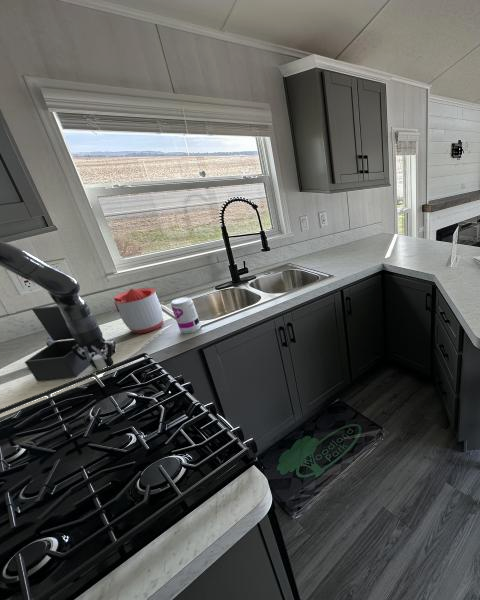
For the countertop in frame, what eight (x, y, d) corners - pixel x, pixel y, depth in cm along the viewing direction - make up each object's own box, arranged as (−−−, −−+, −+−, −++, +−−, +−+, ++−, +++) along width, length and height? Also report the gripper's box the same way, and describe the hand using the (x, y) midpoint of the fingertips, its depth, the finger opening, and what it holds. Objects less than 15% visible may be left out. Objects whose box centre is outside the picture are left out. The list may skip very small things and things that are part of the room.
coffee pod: (106, 369, 124) (101, 358, 122) (95, 370, 123) (89, 360, 121) (113, 363, 127) (108, 352, 125) (102, 364, 127) (96, 354, 125)
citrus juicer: (122, 328, 153) (103, 289, 144) (165, 316, 163) (151, 279, 154) (123, 341, 142) (104, 300, 133) (170, 328, 152) (154, 288, 143)
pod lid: (70, 305, 121) (79, 299, 125) (31, 309, 119) (42, 302, 124) (89, 337, 128) (97, 329, 133) (53, 340, 126) (63, 333, 131)
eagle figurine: (73, 346, 137) (57, 340, 139) (57, 339, 131) (40, 333, 133) (59, 362, 134) (42, 356, 135) (41, 356, 128) (25, 350, 129)
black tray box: (75, 377, 120) (64, 357, 116) (37, 381, 119) (24, 361, 115) (100, 356, 132) (90, 337, 129) (65, 359, 131) (54, 341, 127)
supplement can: (188, 335, 145) (177, 305, 138) (176, 332, 148) (165, 302, 142) (205, 327, 151) (195, 298, 145) (193, 323, 155) (183, 295, 148)
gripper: (53, 335, 114) (76, 374, 121) (99, 330, 115) (118, 369, 123) (69, 324, 120) (90, 362, 128) (112, 320, 122) (130, 358, 130)
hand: (104, 366), depth 125 cm, fingers closed on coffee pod, 4 cm apart
